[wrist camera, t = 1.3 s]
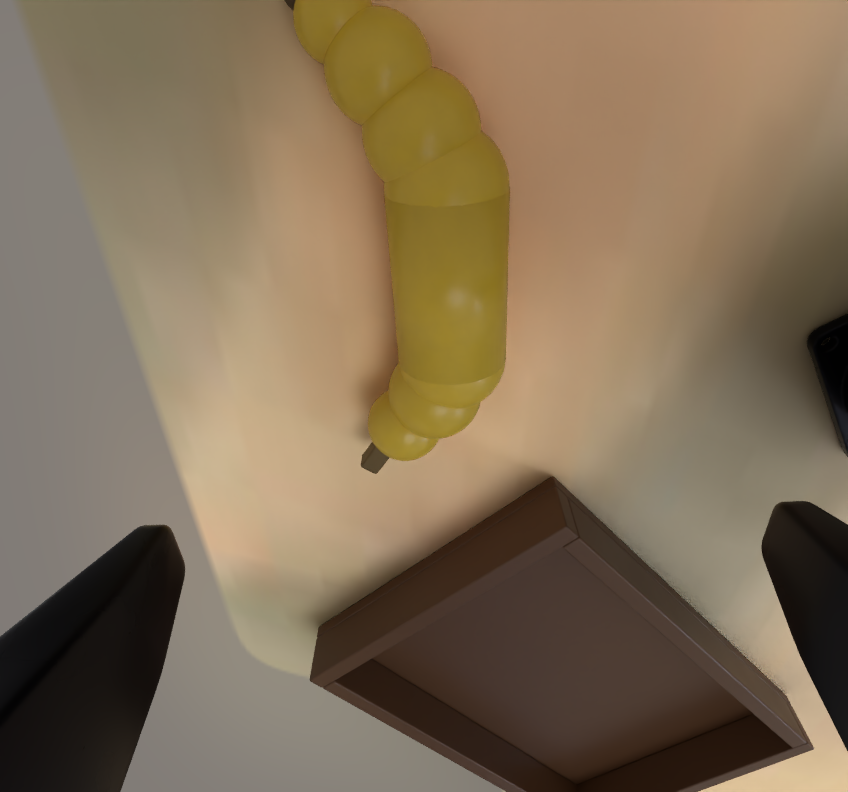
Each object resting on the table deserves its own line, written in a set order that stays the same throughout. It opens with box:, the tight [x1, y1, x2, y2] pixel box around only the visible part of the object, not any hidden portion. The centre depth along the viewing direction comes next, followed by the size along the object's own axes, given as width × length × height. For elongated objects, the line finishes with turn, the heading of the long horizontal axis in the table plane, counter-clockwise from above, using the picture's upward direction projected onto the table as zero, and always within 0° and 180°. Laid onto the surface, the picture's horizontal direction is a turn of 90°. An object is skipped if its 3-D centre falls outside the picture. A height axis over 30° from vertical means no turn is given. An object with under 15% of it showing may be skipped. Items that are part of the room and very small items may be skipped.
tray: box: [310, 477, 814, 792], centre depth 29 cm, size 21×14×3 cm
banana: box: [285, 0, 510, 474], centre depth 18 cm, size 15×6×3 cm, turn 3°
